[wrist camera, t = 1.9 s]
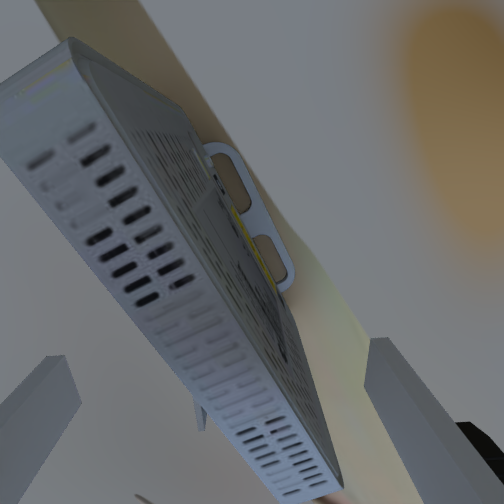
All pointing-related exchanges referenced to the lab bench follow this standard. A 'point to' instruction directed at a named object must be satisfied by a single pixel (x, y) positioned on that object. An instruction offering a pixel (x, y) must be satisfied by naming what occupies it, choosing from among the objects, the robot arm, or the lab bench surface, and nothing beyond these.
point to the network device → (173, 252)
